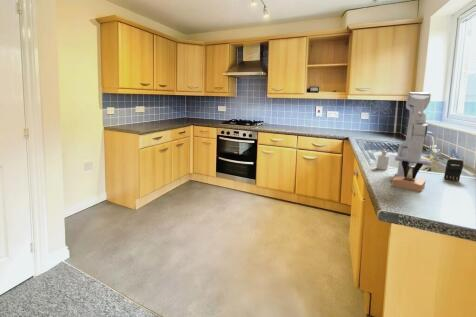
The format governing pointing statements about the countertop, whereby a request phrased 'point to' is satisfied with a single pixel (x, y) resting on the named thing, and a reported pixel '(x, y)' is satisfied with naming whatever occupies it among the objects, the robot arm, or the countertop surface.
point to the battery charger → (453, 169)
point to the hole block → (408, 183)
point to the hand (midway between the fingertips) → (409, 177)
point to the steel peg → (410, 173)
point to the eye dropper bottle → (382, 161)
